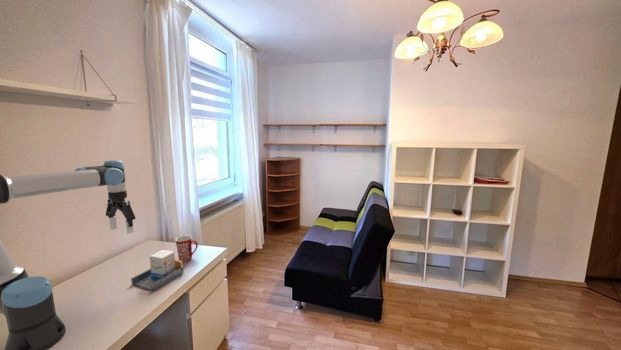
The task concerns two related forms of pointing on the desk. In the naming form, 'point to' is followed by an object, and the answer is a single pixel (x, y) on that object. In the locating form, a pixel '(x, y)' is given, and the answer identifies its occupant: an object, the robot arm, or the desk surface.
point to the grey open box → (153, 283)
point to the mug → (185, 247)
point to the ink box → (162, 263)
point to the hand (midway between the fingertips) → (121, 230)
